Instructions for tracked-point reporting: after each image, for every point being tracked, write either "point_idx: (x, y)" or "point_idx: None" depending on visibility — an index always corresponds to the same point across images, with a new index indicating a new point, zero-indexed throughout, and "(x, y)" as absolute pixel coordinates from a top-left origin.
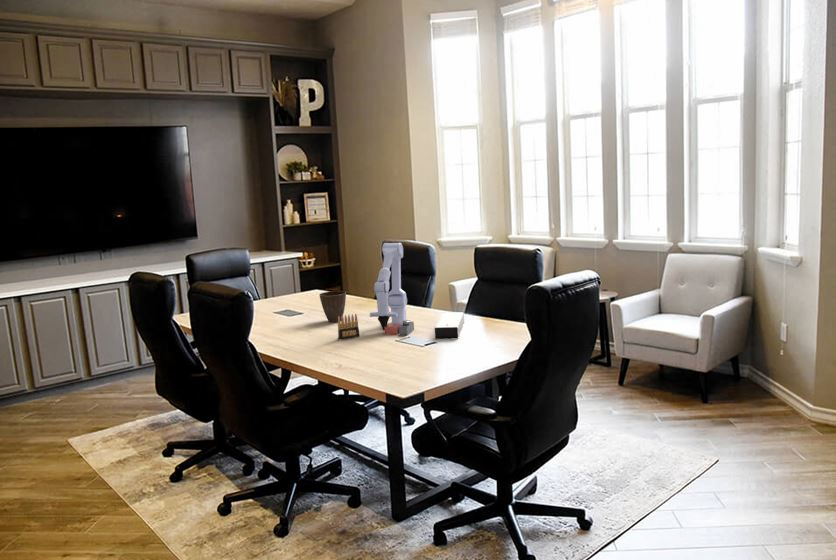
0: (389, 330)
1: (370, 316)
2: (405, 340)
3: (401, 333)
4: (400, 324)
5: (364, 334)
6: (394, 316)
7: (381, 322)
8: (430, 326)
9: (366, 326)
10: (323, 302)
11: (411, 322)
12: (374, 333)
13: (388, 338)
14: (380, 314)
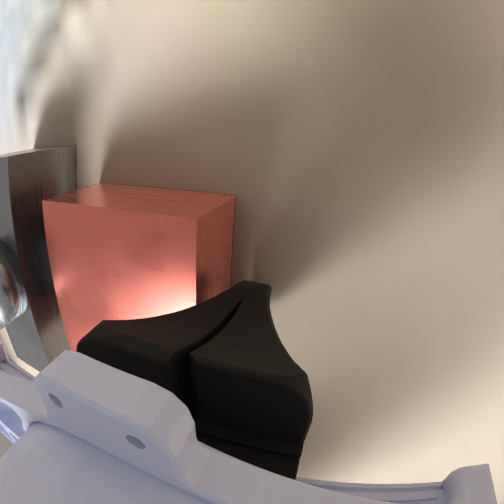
0: (148, 198)
1: (478, 470)
2: (33, 16)
3: (50, 148)
4: (65, 325)
5: (488, 221)
6: (7, 361)
7: (244, 335)
8: (35, 369)
9: (436, 464)
10: None
11: (10, 331)
12: (380, 256)
13: (148, 19)
14: (112, 429)
